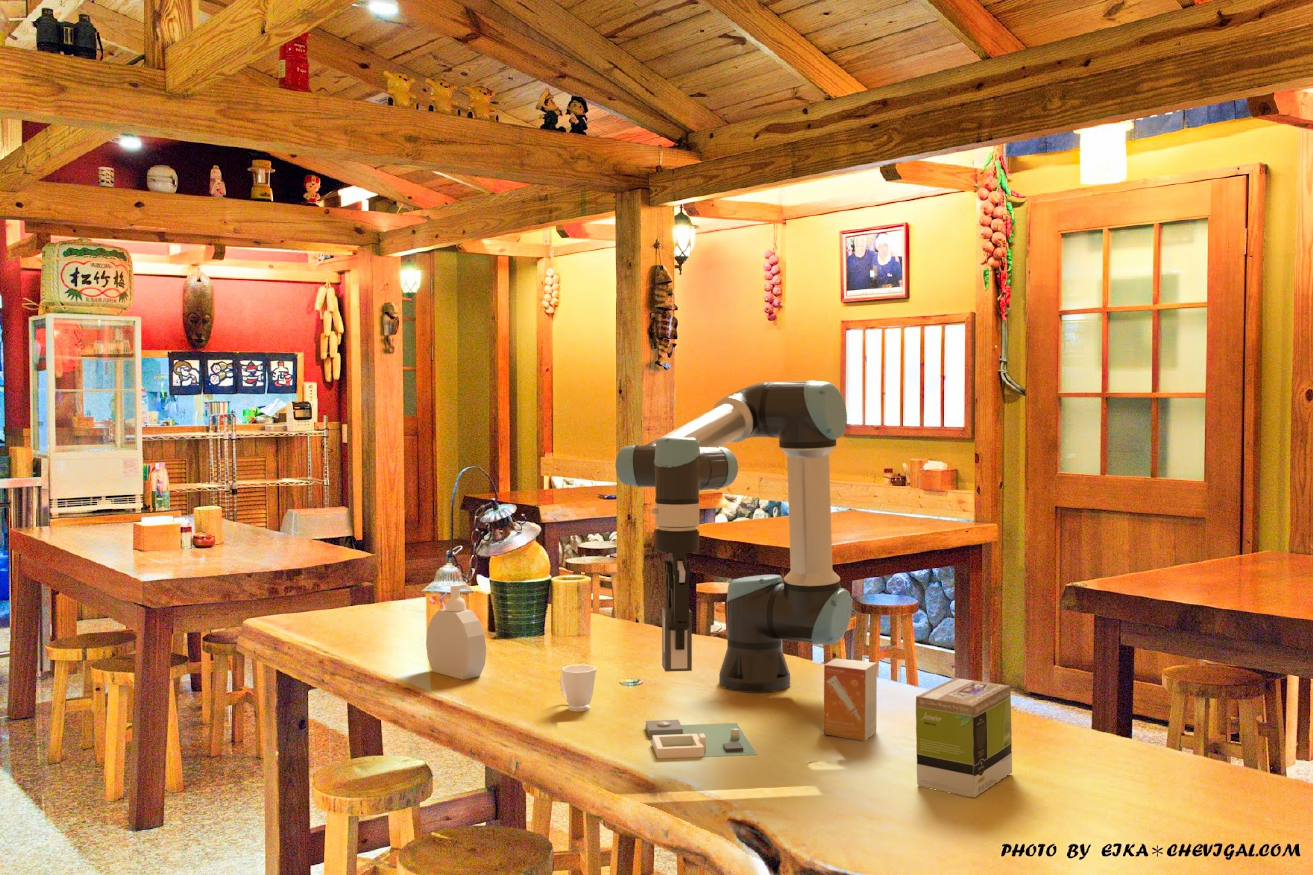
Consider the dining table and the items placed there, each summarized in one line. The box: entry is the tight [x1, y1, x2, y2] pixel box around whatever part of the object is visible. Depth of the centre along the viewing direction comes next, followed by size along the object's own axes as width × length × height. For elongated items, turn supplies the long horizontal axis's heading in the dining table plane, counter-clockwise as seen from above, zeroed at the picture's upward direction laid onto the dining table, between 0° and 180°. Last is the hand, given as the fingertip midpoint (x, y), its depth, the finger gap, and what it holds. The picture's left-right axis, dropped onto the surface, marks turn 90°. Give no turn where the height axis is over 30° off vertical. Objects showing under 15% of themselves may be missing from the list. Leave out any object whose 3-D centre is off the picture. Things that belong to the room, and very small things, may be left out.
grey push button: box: [645, 719, 683, 739], centre depth 205 cm, size 6×10×3 cm, turn 7°
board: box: [644, 722, 758, 760], centre depth 202 cm, size 17×19×3 cm
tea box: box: [915, 677, 1013, 798], centre depth 183 cm, size 15×10×15 cm
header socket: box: [651, 733, 706, 759], centre depth 196 cm, size 9×8×2 cm
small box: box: [823, 657, 878, 742], centre depth 209 cm, size 8×6×13 cm
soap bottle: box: [425, 583, 487, 681], centre depth 256 cm, size 16×5×20 cm, turn 46°
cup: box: [559, 663, 597, 713], centre depth 228 cm, size 7×10×8 cm
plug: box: [661, 607, 693, 673], centre depth 195 cm, size 4×4×10 cm
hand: (676, 664), depth 196 cm, fingers closed on plug, 4 cm apart
